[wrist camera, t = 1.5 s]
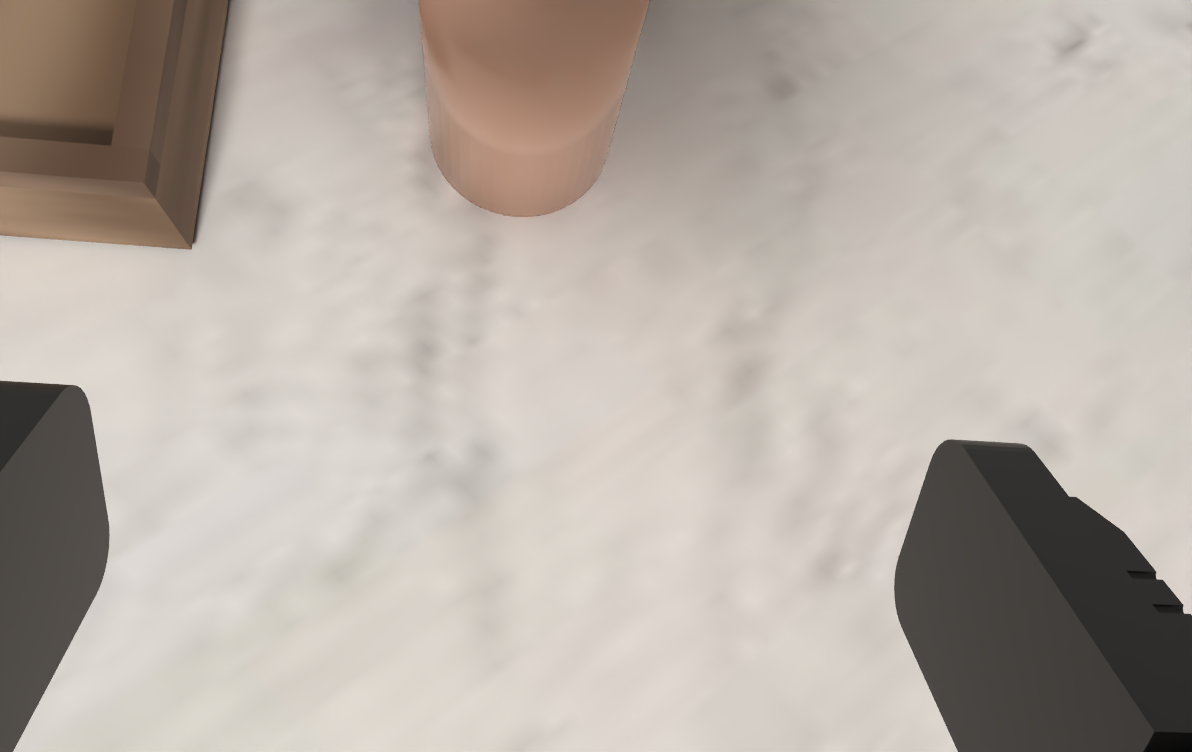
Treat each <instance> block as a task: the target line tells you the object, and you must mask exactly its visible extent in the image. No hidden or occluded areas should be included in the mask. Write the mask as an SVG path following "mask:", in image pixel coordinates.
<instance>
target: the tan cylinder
mask: <svg viewBox="0 0 1192 752" xmlns="http://www.w3.org/2000/svg"><path fill="white" fill-rule="evenodd" d="M649 2H650V0H419V10H420V22H421V34H422V46H423V58H424V70H425V82H426V94H427V106H428V118H429V130H430V140H431V148H432V151H433V155H434V158H435V160H436V163H437V165H438V167H439V169H440V171H441V172H442V174H443V176H444V177H445V179H446V180H447V181H448V182H449V183H450V185H451V186H452V187H453V188H454V189H455V190H456V191H457V192H458V193H459V194H461V195H462V196H463V197H465V198H466V199H467V200H469V201H470V202H472V203H474V204H476V205H477V206H479V207H481V208H484V209H486V210H489V211H491V212H494V213H498V214H502V215H508V216H515V217H531V216H540V215H544V214H548V213H552V212H555V211H557V210H560V209H562V208H564V207H566V206H568V205H570V204H572V203H573V202H575V201H576V200H578V199H579V198H580V197H582V196H583V195H584V194H585V193H586V192H587V191H588V190H589V189H590V188H591V186H592V185H593V184H594V183H595V181H596V180H597V178H598V176H599V175H600V173H601V171H602V169H603V166H604V164H605V161H606V157H607V154H608V150H609V147H610V143H611V139H612V136H613V132H614V129H615V125H616V121H617V118H618V114H619V110H620V107H621V103H622V100H623V96H624V92H625V89H626V85H627V82H628V78H629V74H630V71H631V67H632V63H633V60H634V56H635V53H636V49H637V45H638V42H639V38H640V35H641V31H642V27H643V24H644V20H645V16H646V13H647V9H648V6H649Z"/></svg>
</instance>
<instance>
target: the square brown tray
mask: <svg viewBox="0 0 1192 752" xmlns="http://www.w3.org/2000/svg"><path fill="white" fill-rule="evenodd" d="M228 1H229V0H0V235H4V236H18V237H31V238H45V239H58V240H71V241H85V242H98V243H111V244H125V245H138V246H152V247H165V248H178V249H192V242H193V236H194V229H195V222H196V216H197V209H198V202H199V196H200V189H201V182H202V175H203V169H204V162H205V155H206V149H207V142H208V135H209V128H210V122H211V115H212V108H213V102H214V95H215V88H216V82H217V75H218V68H219V61H220V55H221V48H222V41H223V35H224V28H225V21H226V14H227V8H228Z"/></svg>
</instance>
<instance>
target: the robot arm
mask: <svg viewBox="0 0 1192 752" xmlns="http://www.w3.org/2000/svg"><path fill="white" fill-rule="evenodd" d="M108 549H109V522H108V515H107V509H106V503H105V497H104V490H103V484H102V478H101V472H100V466H99V460H98V453H97V447H96V441H95V435H94V429H93V423H92V416H91V411H90V406H89V403H88V400H87V397H86V395H85V393H84V392H83V391H82V389H81V388H79V387H78V386H74V385H60V384H43V383H27V382H10V381H0V752H13V750H14V749H15V747H16V745H17V743H18V741H19V739H20V737H21V735H22V733H23V732H24V730H25V728H26V726H27V724H28V722H29V720H30V718H31V716H32V715H33V713H34V711H35V709H36V707H37V705H38V703H39V701H40V700H41V698H42V696H43V694H44V692H45V690H46V688H47V686H48V684H49V683H50V681H51V679H52V677H53V675H54V673H55V671H56V669H57V667H58V666H59V664H60V662H61V660H62V658H63V656H64V654H65V652H66V650H67V649H68V647H69V645H70V643H71V641H72V639H73V637H74V635H75V634H76V632H77V630H78V628H79V626H80V624H81V622H82V620H83V618H84V617H85V615H86V613H87V611H88V609H89V607H90V605H91V603H92V601H93V600H94V598H95V596H96V594H97V592H98V590H99V587H100V585H101V582H102V579H103V576H104V572H105V568H106V563H107V557H108ZM894 591H895V604H896V610H897V615H898V618H899V622H900V624H901V627H902V629H903V631H904V633H905V636H906V638H907V640H908V642H909V645H910V647H911V649H912V651H913V653H914V656H915V658H916V660H917V662H918V664H919V667H920V669H921V671H922V673H923V675H924V678H925V680H926V682H927V684H928V686H929V689H930V691H931V693H932V695H933V697H934V700H935V702H936V704H937V706H938V708H939V711H940V713H941V715H942V717H943V720H944V722H945V724H946V726H947V728H948V731H949V733H950V735H951V737H952V739H953V742H954V744H955V746H956V748H957V750H958V752H1192V615H1191V614H1184V613H1183V604H1182V603H1181V602H1180V601H1179V599H1178V598H1177V597H1176V596H1175V594H1174V593H1173V592H1172V591H1171V589H1170V588H1169V587H1168V586H1167V585H1166V583H1165V582H1164V581H1163V580H1157V579H1156V571H1155V570H1154V568H1153V567H1152V566H1151V565H1150V564H1149V562H1148V561H1147V560H1146V559H1145V557H1144V556H1143V555H1142V554H1141V552H1140V551H1139V550H1138V549H1137V548H1136V546H1135V545H1134V544H1133V543H1132V541H1131V540H1130V539H1129V538H1128V536H1127V535H1126V534H1125V533H1124V532H1123V531H1122V530H1120V529H1119V528H1118V527H1116V526H1115V525H1114V524H1112V523H1111V522H1110V521H1108V520H1107V519H1105V518H1104V517H1103V516H1101V515H1100V514H1099V513H1097V512H1096V511H1095V510H1093V509H1092V508H1090V507H1089V506H1088V505H1086V504H1085V503H1084V502H1082V501H1081V500H1080V499H1078V498H1077V497H1069V496H1068V495H1067V493H1066V492H1065V491H1064V490H1063V488H1062V487H1061V486H1060V484H1059V483H1058V482H1057V481H1056V479H1055V478H1054V477H1053V475H1052V474H1051V473H1050V472H1049V470H1048V469H1047V468H1046V466H1045V465H1044V464H1043V462H1042V461H1041V460H1040V459H1039V457H1038V456H1037V455H1036V453H1035V452H1034V451H1033V450H1032V449H1031V448H1030V447H1028V446H1027V445H1024V444H1019V443H1002V442H985V441H968V440H946V441H944V442H943V443H941V444H940V445H939V447H938V448H937V449H936V451H935V453H934V454H933V457H932V459H931V462H930V465H929V468H928V471H927V474H926V477H925V480H924V483H923V486H922V489H921V492H920V495H919V498H918V501H917V504H916V507H915V510H914V513H913V516H912V519H911V522H910V525H909V528H908V531H907V534H906V537H905V540H904V543H903V546H902V549H901V552H900V555H899V558H898V562H897V566H896V572H895V585H894Z"/></svg>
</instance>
